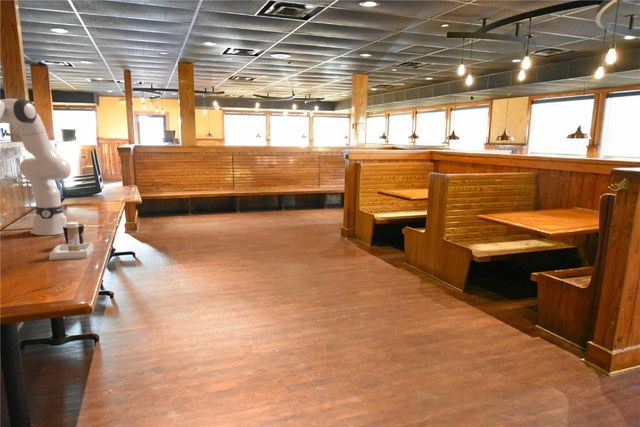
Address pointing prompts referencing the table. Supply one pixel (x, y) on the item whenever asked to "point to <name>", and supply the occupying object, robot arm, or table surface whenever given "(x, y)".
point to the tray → (64, 253)
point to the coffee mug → (80, 230)
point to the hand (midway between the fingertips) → (15, 181)
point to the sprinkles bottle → (73, 236)
